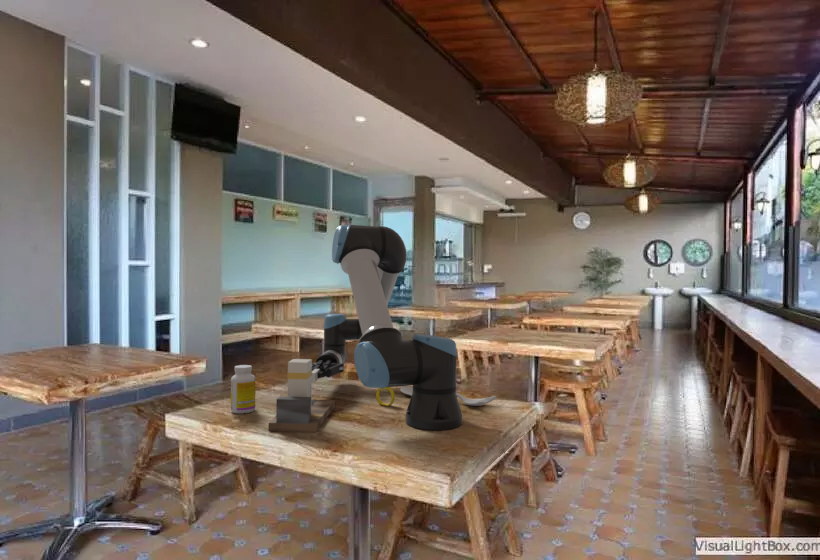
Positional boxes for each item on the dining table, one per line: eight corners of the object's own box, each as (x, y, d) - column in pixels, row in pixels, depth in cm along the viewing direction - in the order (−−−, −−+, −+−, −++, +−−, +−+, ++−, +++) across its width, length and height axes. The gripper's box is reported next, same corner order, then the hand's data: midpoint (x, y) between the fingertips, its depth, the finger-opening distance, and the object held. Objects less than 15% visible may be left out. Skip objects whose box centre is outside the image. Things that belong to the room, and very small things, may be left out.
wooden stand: (294, 406, 154) (294, 379, 154) (334, 407, 154) (334, 380, 154) (268, 430, 130) (268, 399, 130) (315, 432, 130) (316, 400, 130)
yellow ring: (395, 406, 156) (397, 387, 156) (390, 408, 154) (391, 388, 154) (379, 402, 160) (380, 383, 159) (374, 404, 157) (375, 384, 157)
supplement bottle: (260, 410, 149) (260, 365, 149) (241, 415, 144) (241, 369, 143) (244, 407, 153) (244, 363, 152) (225, 412, 147) (225, 366, 147)
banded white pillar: (292, 410, 140) (293, 358, 140) (311, 411, 140) (312, 359, 139) (287, 416, 135) (287, 362, 134) (306, 416, 134) (307, 362, 134)
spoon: (483, 413, 150) (483, 401, 150) (394, 396, 168) (394, 386, 168) (497, 406, 157) (497, 395, 157) (410, 391, 176) (410, 381, 176)
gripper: (348, 374, 174) (334, 391, 151) (309, 373, 175) (290, 390, 151) (348, 352, 174) (334, 365, 150) (309, 351, 175) (290, 364, 151)
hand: (312, 377), depth 151 cm, fingers closed
